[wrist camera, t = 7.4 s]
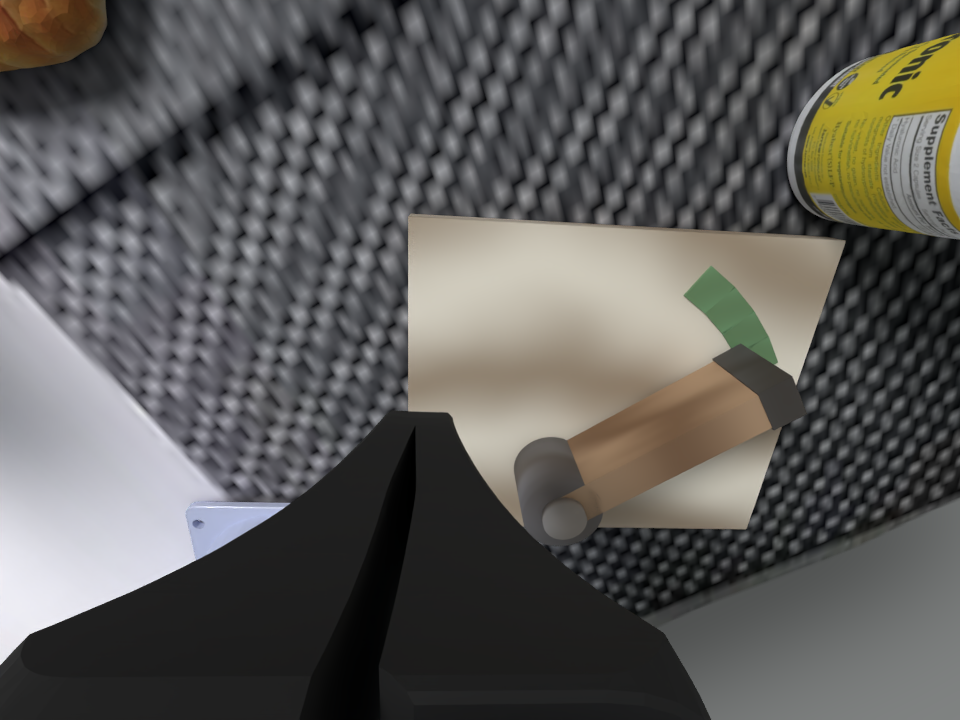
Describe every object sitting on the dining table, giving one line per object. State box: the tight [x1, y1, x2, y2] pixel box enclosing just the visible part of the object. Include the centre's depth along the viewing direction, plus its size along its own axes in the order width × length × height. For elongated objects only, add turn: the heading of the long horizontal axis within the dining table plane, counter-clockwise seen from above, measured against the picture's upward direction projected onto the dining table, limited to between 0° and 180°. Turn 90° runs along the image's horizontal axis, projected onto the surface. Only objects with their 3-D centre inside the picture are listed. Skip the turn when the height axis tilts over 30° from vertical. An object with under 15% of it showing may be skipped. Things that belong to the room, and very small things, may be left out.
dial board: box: [408, 214, 846, 529], centre depth 20 cm, size 14×16×1 cm
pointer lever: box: [514, 343, 807, 546], centre depth 18 cm, size 11×3×3 cm, turn 122°
